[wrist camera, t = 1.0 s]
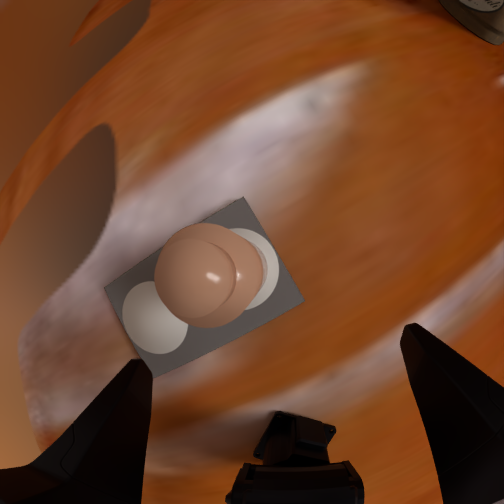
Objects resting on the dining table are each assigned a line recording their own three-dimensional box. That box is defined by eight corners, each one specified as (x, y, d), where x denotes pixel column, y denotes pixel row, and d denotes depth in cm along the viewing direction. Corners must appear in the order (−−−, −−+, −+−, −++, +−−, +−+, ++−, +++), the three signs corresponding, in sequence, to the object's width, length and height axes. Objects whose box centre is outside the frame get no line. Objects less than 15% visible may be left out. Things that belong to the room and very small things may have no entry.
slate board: (245, 199, 24) (243, 196, 23) (304, 299, 23) (305, 300, 22) (109, 286, 25) (103, 287, 24) (157, 374, 25) (153, 378, 24)
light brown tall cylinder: (254, 308, 23) (226, 357, 11) (199, 286, 23) (123, 309, 11) (276, 251, 23) (270, 241, 11) (220, 230, 23) (158, 201, 11)
